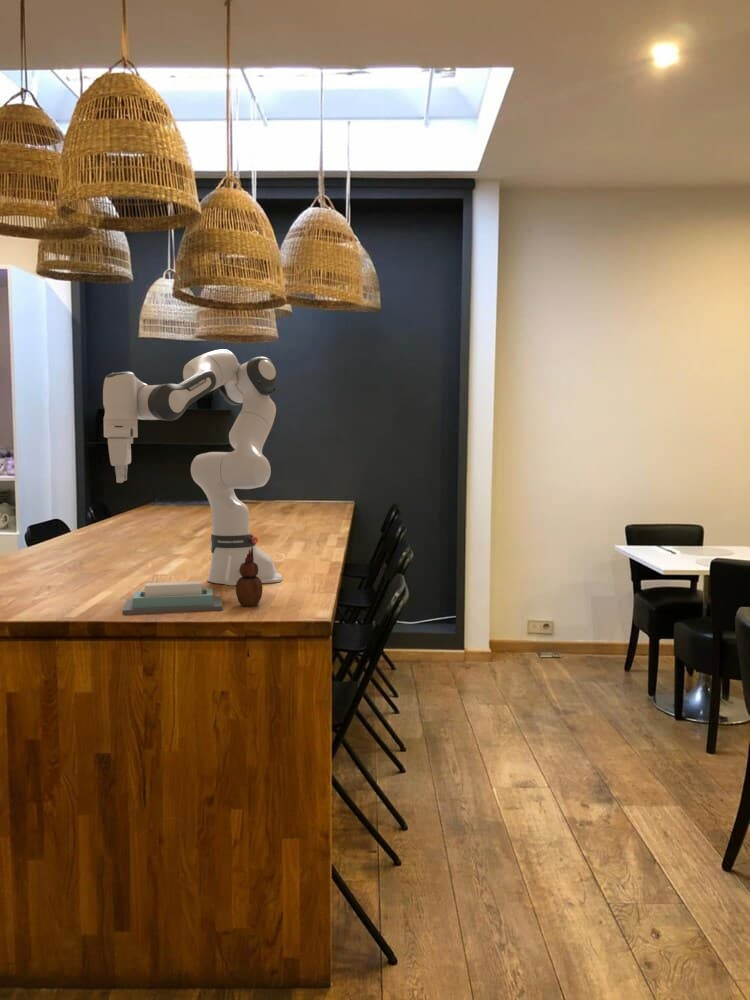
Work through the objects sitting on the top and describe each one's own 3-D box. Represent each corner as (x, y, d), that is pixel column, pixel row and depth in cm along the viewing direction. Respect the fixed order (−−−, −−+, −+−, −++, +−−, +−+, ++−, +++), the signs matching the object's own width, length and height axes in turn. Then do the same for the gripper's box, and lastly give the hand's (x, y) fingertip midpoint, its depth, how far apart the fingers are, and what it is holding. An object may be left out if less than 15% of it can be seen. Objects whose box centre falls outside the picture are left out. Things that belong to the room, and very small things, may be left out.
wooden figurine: (251, 601, 202) (251, 545, 201) (266, 604, 199) (266, 547, 197) (231, 605, 197) (231, 548, 196) (246, 608, 193) (246, 550, 192)
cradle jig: (220, 599, 204) (220, 586, 204) (222, 610, 192) (222, 596, 192) (127, 603, 199) (127, 589, 199) (122, 614, 186) (122, 600, 186)
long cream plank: (201, 600, 199) (201, 581, 198) (202, 602, 195) (201, 583, 195) (145, 602, 195) (145, 583, 195) (145, 605, 192) (144, 585, 192)
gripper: (112, 431, 217) (113, 479, 218) (104, 430, 197) (105, 483, 199) (135, 431, 219) (136, 479, 220) (129, 430, 199) (130, 483, 200)
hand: (121, 481), depth 209 cm, fingers open, 8 cm apart
